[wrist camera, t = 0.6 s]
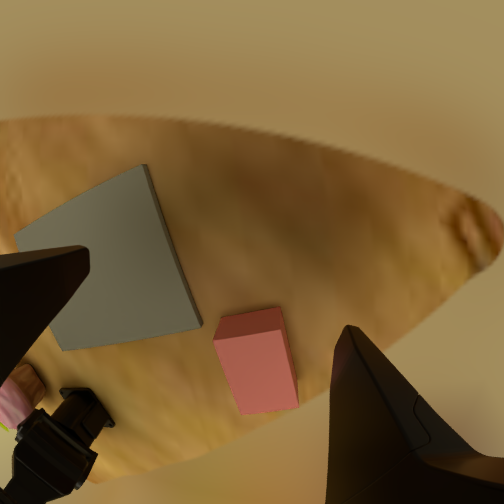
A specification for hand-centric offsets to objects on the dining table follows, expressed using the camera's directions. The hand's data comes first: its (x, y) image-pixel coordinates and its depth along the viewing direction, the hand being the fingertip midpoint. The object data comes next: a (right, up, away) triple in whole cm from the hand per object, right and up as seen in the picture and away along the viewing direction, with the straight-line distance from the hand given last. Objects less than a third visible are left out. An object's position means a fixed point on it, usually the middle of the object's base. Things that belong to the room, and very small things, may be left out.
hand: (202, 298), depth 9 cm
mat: (-13, -1, +15) cm, 20 cm away
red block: (+2, -7, +16) cm, 18 cm away
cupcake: (-30, -17, +21) cm, 40 cm away
